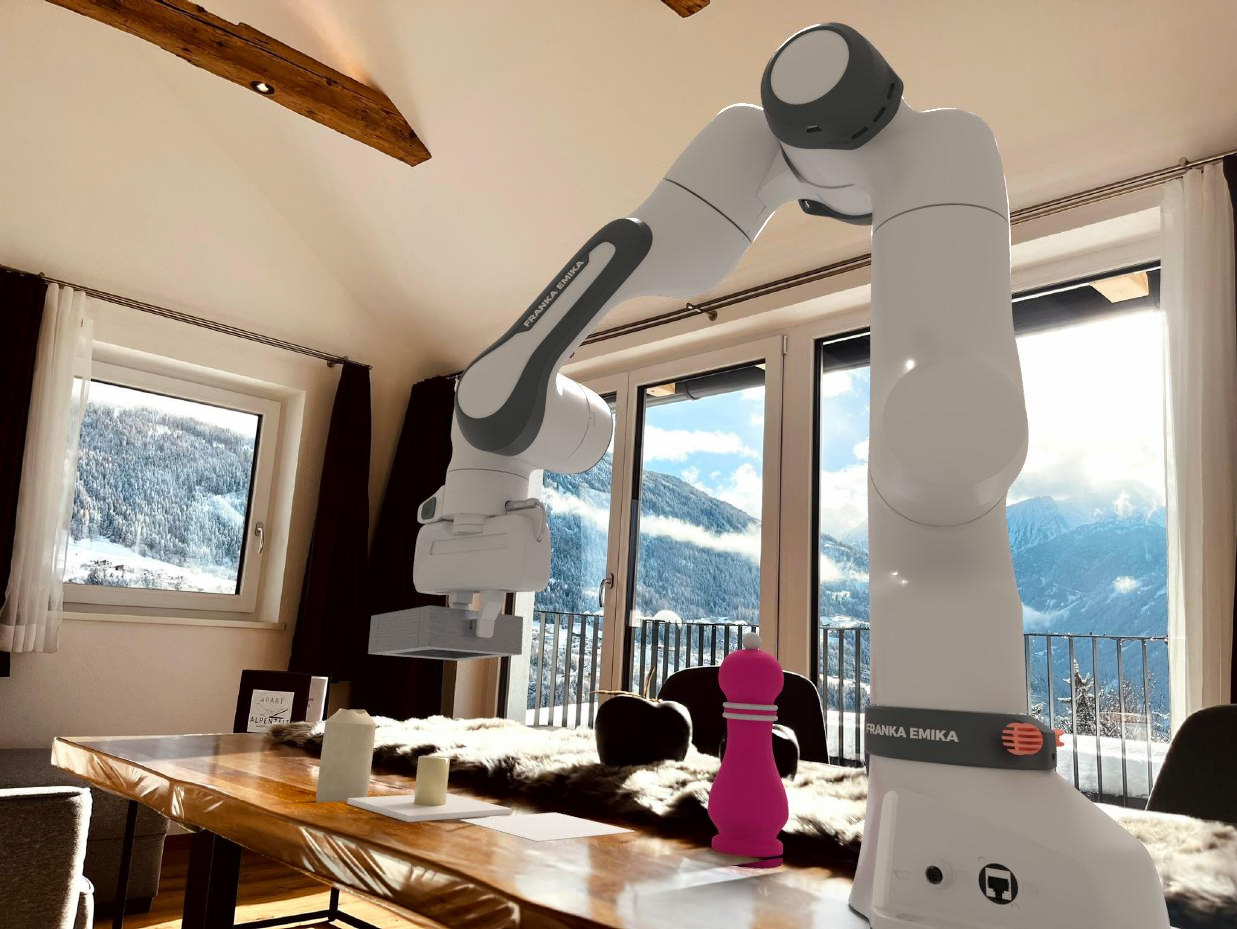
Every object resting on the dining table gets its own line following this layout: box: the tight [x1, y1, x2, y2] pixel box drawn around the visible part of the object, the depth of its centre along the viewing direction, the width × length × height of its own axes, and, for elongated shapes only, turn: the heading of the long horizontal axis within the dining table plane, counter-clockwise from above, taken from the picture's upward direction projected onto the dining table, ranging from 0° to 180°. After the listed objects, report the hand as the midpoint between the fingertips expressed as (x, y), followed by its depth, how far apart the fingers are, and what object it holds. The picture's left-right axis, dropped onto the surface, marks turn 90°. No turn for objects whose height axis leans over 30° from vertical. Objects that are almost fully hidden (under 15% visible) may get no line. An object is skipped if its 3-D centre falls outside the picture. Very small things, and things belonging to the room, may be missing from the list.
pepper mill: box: [706, 631, 790, 870], centre depth 81 cm, size 7×7×20 cm
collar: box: [367, 604, 524, 662], centre depth 95 cm, size 12×12×4 cm
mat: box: [459, 812, 637, 843], centre depth 85 cm, size 12×12×1 cm
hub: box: [346, 755, 513, 823], centre depth 92 cm, size 12×12×6 cm
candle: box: [315, 708, 377, 803], centre depth 99 cm, size 6×6×10 cm
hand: (471, 637), depth 92 cm, fingers closed on collar, 2 cm apart
